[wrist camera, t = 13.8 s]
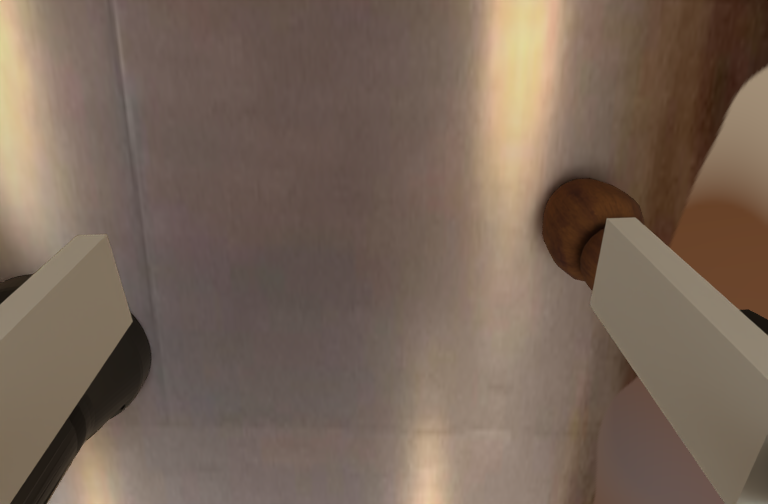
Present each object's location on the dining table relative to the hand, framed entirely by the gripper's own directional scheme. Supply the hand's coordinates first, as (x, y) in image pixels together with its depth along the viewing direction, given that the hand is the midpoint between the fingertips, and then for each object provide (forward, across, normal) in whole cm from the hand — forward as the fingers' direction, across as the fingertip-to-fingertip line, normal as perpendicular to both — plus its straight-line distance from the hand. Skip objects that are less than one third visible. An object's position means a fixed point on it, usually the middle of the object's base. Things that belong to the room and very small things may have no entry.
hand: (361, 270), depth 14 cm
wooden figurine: (+26, -16, +10) cm, 32 cm away
